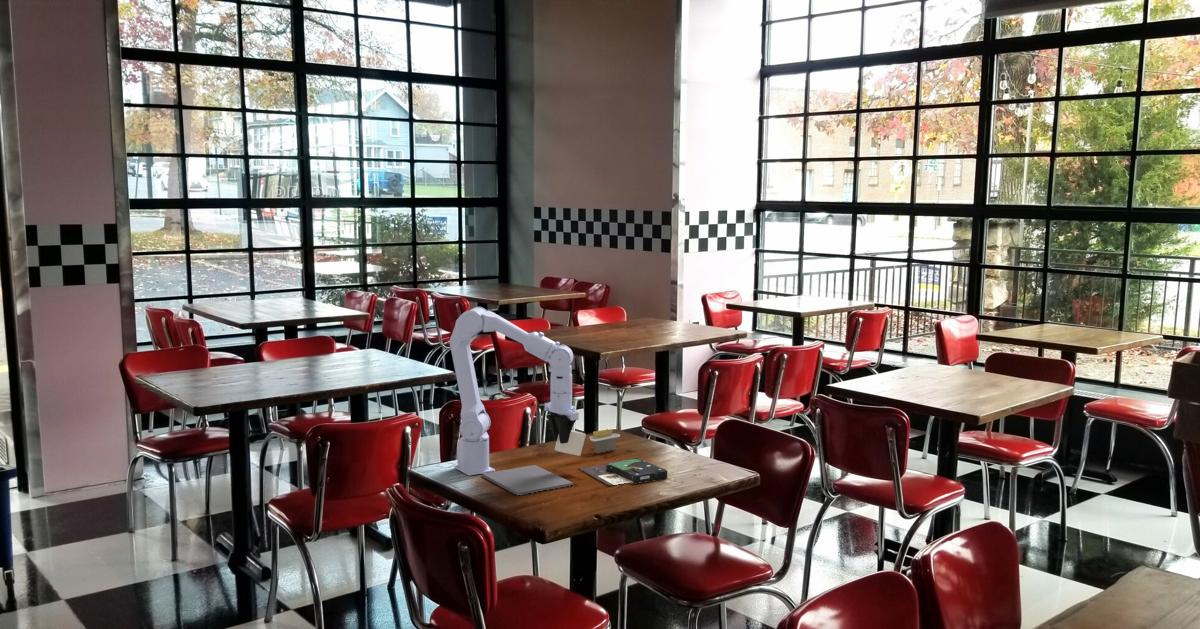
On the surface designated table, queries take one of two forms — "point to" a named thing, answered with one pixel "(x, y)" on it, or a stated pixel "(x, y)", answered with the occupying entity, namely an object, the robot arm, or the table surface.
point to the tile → (571, 443)
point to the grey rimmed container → (604, 441)
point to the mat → (526, 479)
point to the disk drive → (637, 470)
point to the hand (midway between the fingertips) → (561, 441)
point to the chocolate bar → (605, 475)
